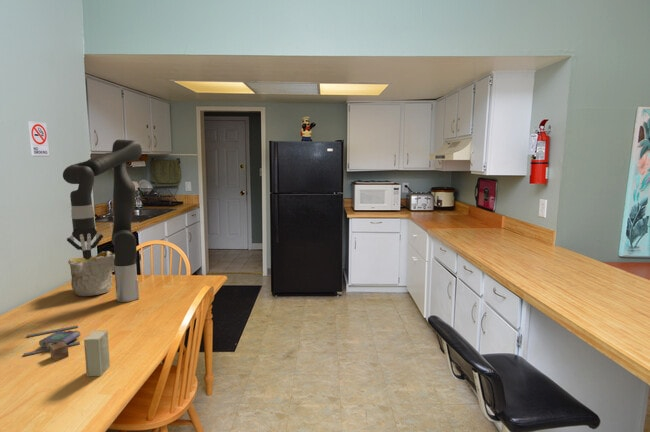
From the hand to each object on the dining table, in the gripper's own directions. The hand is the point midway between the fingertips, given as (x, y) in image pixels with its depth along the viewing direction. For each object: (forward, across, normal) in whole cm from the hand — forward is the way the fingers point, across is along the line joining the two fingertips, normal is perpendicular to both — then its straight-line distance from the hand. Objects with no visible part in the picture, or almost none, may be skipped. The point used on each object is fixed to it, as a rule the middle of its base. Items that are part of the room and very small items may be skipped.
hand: (87, 258), depth 155 cm
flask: (+24, +9, +13) cm, 29 cm away
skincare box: (+26, +2, +47) cm, 54 cm away
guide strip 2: (+26, +14, +21) cm, 36 cm away
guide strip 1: (+26, +14, +4) cm, 30 cm away
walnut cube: (+26, +12, +28) cm, 40 cm away
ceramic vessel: (+26, -3, -42) cm, 50 cm away
